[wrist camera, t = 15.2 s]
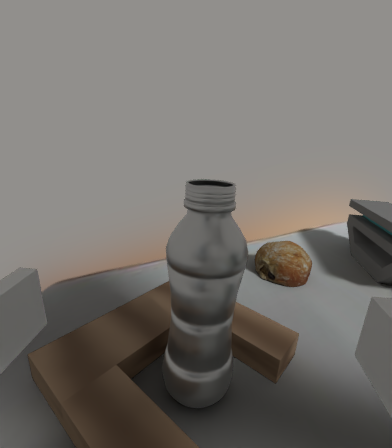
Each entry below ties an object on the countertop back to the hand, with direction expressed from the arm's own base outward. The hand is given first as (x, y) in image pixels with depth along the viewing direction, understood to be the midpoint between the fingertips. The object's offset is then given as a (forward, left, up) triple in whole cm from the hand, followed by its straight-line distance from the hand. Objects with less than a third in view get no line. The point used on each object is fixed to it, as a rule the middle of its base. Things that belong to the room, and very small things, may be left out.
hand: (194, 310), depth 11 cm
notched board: (-9, -9, -17) cm, 21 cm away
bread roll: (-37, -10, -17) cm, 42 cm away
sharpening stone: (-53, +5, -17) cm, 55 cm away
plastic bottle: (-8, -6, -17) cm, 20 cm away
